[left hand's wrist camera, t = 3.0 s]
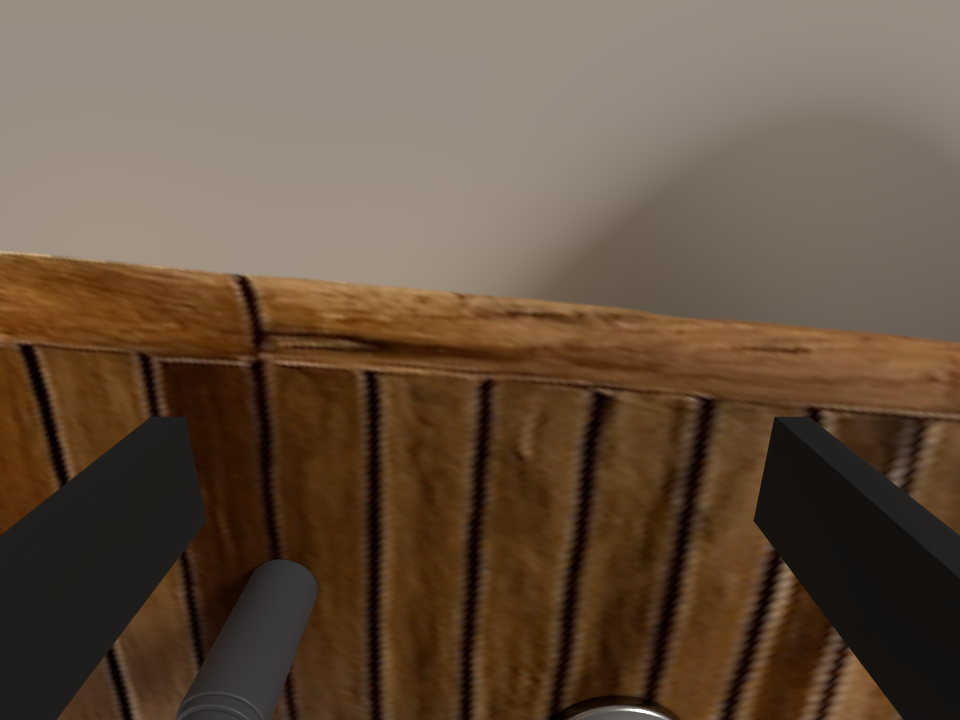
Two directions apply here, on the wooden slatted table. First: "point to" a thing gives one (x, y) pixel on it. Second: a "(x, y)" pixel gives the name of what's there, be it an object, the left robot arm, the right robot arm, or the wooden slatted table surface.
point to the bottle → (254, 647)
